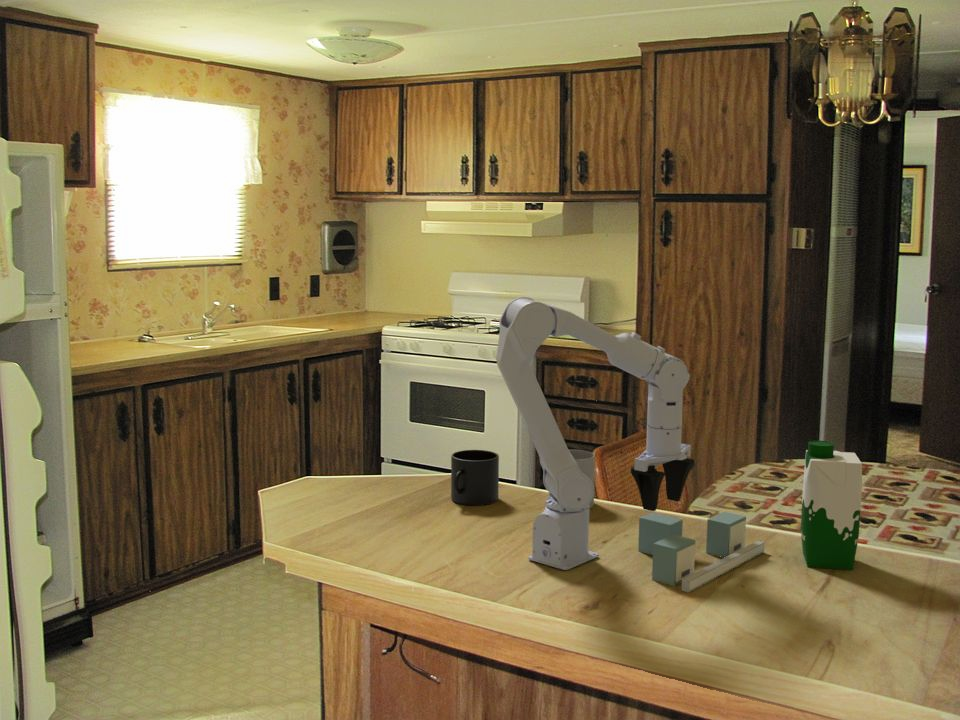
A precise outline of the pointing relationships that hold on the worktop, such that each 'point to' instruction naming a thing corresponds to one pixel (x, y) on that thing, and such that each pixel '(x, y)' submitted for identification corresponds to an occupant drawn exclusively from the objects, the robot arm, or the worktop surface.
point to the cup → (585, 465)
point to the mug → (474, 477)
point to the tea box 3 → (725, 534)
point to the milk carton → (830, 506)
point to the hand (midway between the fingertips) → (661, 504)
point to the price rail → (722, 566)
